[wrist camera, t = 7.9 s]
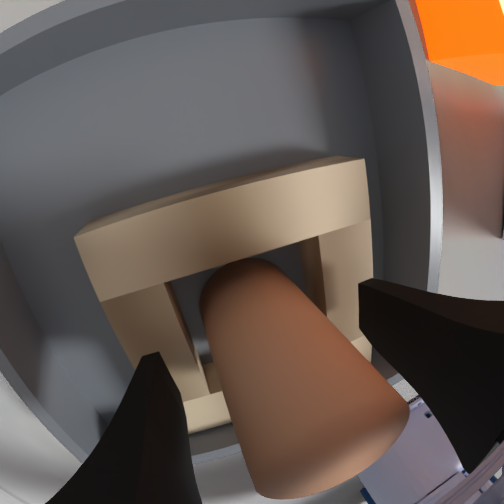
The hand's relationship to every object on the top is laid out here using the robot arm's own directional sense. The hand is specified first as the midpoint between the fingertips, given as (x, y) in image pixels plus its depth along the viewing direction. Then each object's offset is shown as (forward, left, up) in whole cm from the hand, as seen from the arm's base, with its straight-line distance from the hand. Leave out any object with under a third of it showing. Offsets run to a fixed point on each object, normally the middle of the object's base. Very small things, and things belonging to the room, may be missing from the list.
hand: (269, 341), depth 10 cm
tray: (+1, -3, -4) cm, 5 cm away
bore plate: (0, 0, -4) cm, 4 cm away
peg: (0, 0, -3) cm, 3 cm away
